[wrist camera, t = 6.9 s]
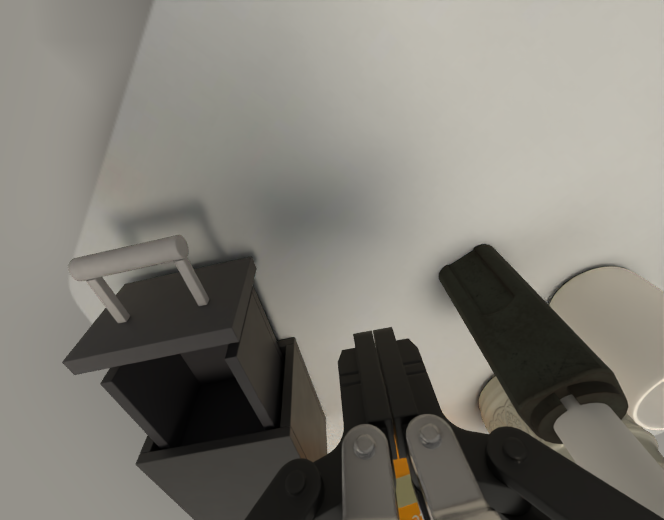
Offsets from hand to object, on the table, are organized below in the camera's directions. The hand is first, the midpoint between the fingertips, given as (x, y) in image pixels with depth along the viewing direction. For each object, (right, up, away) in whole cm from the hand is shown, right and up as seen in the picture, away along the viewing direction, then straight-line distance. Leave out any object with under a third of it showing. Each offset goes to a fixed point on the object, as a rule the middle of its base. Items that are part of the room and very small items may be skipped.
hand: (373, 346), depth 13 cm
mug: (+21, -1, +19) cm, 28 cm away
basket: (-12, -1, +15) cm, 19 cm away
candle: (+11, +2, +16) cm, 19 cm away
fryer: (-9, -11, +22) cm, 27 cm away
